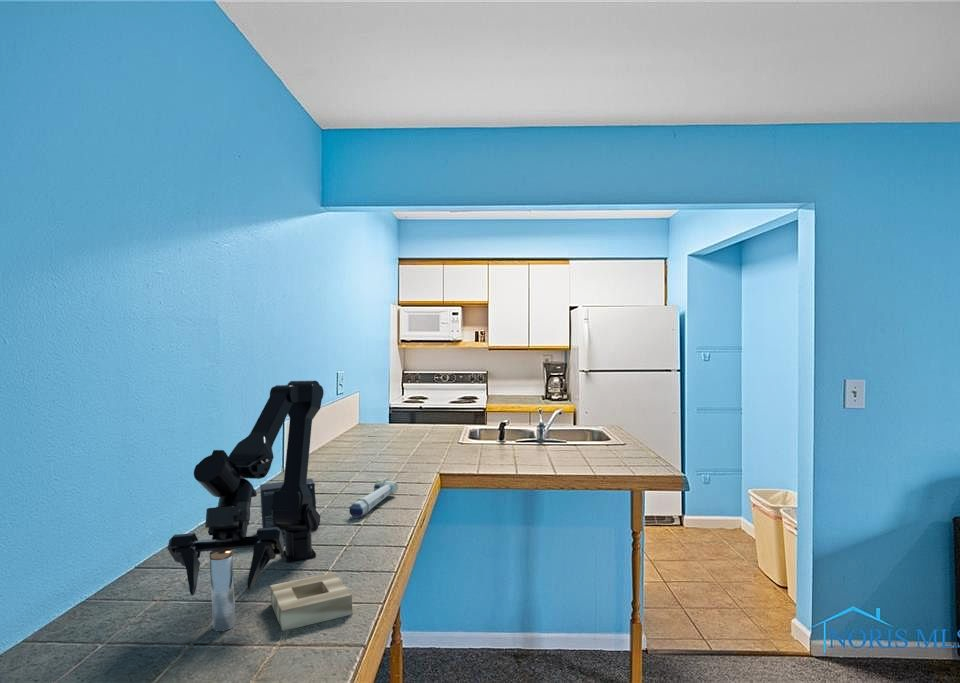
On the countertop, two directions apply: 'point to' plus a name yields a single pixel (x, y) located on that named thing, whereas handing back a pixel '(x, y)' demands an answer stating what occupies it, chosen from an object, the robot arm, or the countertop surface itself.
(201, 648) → the countertop surface
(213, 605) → the copper capped silver cylinder
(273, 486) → the small box
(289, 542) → the robot arm
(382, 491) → the white blue cylinder
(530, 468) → the countertop surface
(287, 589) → the socket block
